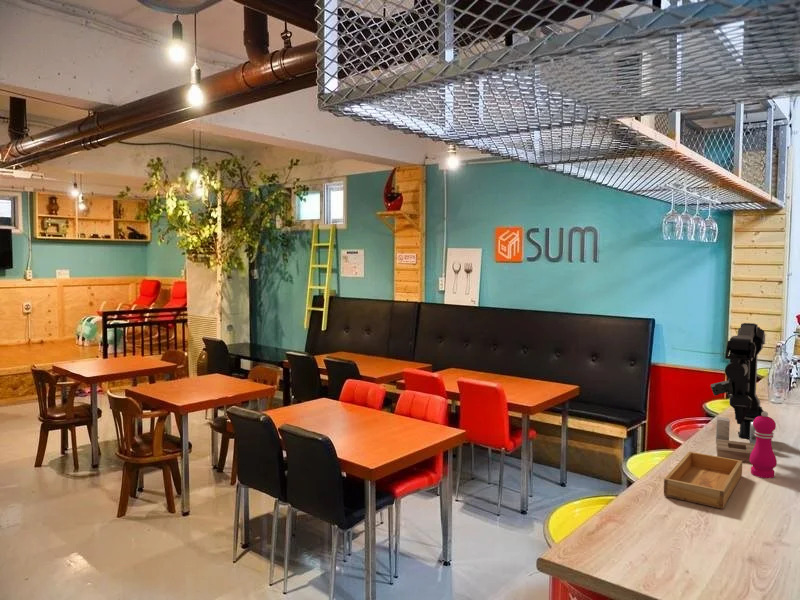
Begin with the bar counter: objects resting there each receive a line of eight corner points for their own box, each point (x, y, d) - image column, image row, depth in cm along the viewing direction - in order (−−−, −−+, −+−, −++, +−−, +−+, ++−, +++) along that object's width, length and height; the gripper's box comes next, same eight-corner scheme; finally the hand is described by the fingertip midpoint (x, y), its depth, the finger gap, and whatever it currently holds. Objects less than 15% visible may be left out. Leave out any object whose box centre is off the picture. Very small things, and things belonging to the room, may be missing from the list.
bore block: (716, 447, 208) (716, 439, 208) (755, 452, 203) (756, 443, 203) (717, 458, 198) (717, 449, 197) (759, 463, 192) (759, 454, 192)
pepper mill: (768, 470, 186) (770, 408, 184) (781, 479, 179) (783, 414, 177) (744, 470, 186) (746, 408, 185) (756, 478, 179) (758, 414, 178)
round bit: (749, 444, 211) (749, 420, 210) (762, 446, 209) (763, 421, 208) (749, 448, 207) (750, 423, 207) (763, 449, 205) (764, 424, 205)
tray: (688, 467, 191) (688, 449, 191) (741, 477, 182) (742, 459, 181) (663, 498, 167) (663, 478, 166) (723, 512, 158) (723, 491, 157)
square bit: (715, 441, 215) (716, 416, 215) (728, 442, 214) (729, 418, 213) (716, 444, 212) (716, 419, 211) (728, 445, 210) (729, 421, 209)
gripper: (711, 368, 210) (710, 411, 211) (713, 378, 194) (712, 424, 195) (748, 370, 205) (746, 414, 206) (752, 381, 189) (751, 429, 190)
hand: (738, 420), depth 199 cm, fingers open, 9 cm apart
